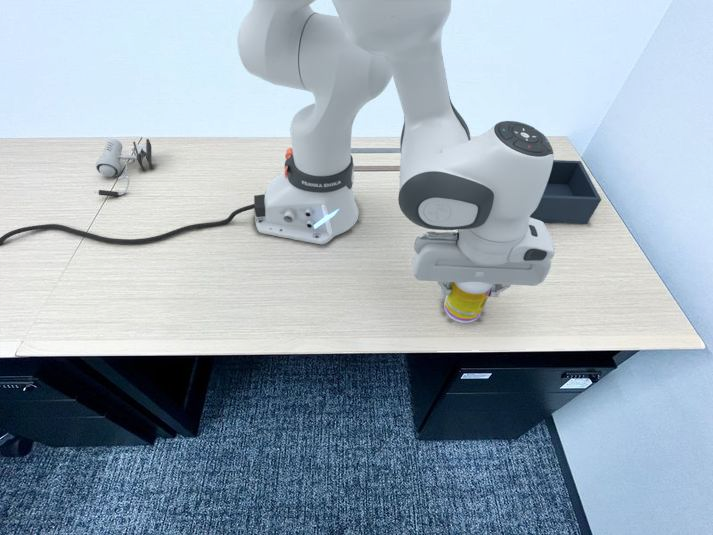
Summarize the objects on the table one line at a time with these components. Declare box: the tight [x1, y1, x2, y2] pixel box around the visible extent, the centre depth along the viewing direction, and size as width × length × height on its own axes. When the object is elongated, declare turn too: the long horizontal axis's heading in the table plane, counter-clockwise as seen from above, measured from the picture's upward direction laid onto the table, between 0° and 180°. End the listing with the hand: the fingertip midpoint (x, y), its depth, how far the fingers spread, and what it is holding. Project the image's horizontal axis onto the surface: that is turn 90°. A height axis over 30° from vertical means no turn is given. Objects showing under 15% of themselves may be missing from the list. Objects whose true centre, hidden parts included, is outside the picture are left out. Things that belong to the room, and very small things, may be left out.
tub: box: [530, 159, 602, 225], centre depth 88 cm, size 14×14×7 cm
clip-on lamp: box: [94, 138, 154, 198], centre depth 95 cm, size 12×6×18 cm
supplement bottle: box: [443, 272, 493, 324], centre depth 67 cm, size 7×7×13 cm
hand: (468, 293), depth 67 cm, fingers closed on supplement bottle, 6 cm apart
